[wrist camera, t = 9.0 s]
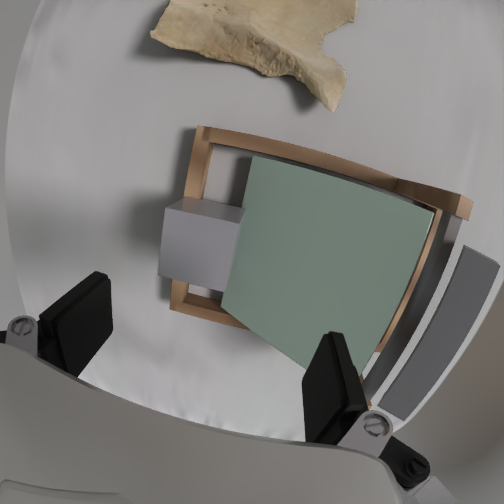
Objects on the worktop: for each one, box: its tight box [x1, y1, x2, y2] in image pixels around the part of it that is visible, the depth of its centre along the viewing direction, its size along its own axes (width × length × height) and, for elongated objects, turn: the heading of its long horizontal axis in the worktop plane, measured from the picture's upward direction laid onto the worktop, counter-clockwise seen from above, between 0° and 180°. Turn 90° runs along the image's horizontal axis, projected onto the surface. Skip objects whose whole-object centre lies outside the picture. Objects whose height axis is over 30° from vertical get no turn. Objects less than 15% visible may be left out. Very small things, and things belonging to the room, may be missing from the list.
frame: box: [170, 125, 474, 409], centre depth 19 cm, size 17×23×11 cm
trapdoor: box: [221, 156, 500, 421], centre depth 18 cm, size 14×19×2 cm
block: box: [158, 196, 246, 292], centre depth 20 cm, size 5×5×5 cm
